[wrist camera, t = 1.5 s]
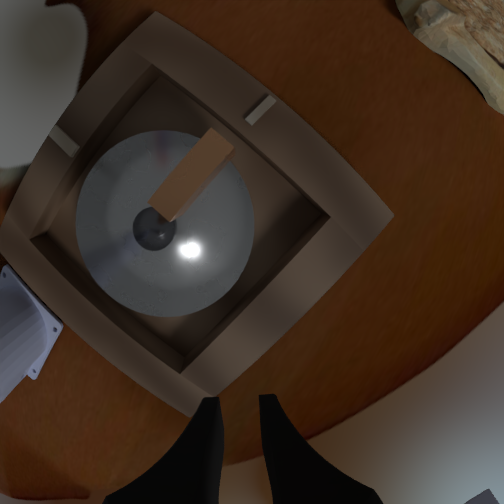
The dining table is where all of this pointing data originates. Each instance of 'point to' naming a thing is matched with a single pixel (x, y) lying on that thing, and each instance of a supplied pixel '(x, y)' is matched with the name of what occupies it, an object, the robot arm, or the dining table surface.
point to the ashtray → (464, 38)
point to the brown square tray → (258, 185)
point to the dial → (165, 222)
